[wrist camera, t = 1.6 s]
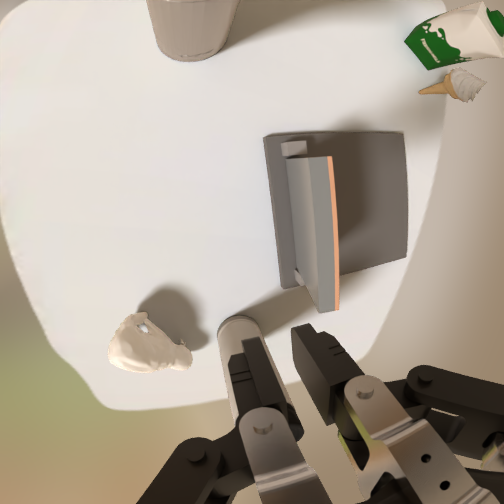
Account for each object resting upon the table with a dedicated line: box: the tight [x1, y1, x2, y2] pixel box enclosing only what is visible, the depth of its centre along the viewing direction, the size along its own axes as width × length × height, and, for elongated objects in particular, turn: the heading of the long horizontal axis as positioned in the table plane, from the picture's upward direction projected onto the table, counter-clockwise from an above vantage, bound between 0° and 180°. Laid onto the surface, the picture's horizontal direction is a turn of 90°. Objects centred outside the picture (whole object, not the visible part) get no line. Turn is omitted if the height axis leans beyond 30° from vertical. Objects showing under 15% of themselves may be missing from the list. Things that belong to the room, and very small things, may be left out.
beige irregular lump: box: [108, 312, 193, 373], centre depth 33 cm, size 6×8×12 cm
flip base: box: [263, 133, 408, 289], centre depth 35 cm, size 20×22×3 cm
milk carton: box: [404, 1, 504, 70], centre depth 22 cm, size 9×9×20 cm
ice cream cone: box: [419, 68, 487, 102], centre depth 27 cm, size 6×6×15 cm
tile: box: [285, 156, 339, 313], centre depth 28 cm, size 14×2×12 cm, turn 8°
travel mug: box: [217, 316, 304, 442], centre depth 30 cm, size 6×7×20 cm
